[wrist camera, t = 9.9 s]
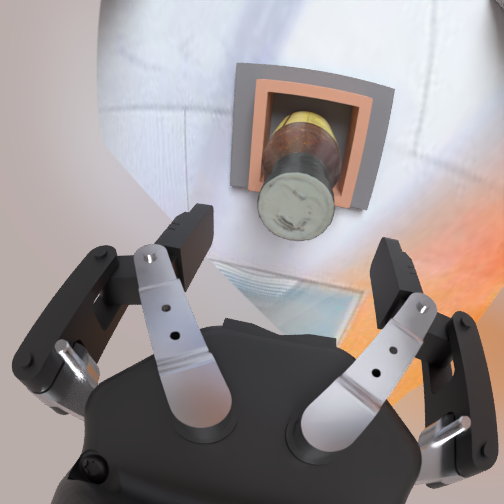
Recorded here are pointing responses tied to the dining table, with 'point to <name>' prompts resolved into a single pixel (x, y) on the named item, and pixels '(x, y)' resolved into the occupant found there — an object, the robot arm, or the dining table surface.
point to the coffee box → (501, 3)
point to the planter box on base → (322, 103)
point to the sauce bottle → (299, 177)
